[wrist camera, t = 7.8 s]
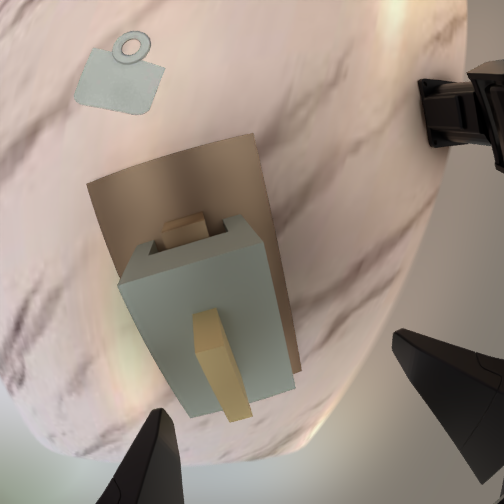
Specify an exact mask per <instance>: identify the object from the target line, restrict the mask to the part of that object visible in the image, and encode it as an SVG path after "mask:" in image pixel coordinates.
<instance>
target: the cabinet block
mask: <svg viewBox="0 0 504 504" xmlns="http://www.w3.org/2000/svg"><path fill="white" fill-rule="evenodd" d="M223 223H224V227H225V230H226V233H222V234H219V235H215V236H212V237H209V238H205V239H202V240H199V241H195V242H192V243H189V244H185V245H182V246H179V247H175V248H172V249H169V250H165V251H162V252H158V250H157V247H156V244H155V241H154V240H152V241H149V242H146V243H143V244H139V245H137V247H136V248H135V250H134V252H133V254H132V256H131V258H130V260H129V262H128V264H127V266H126V268H125V270H124V272H123V274H122V277H121V279H120V281H119V283H118V285H117V286H118V289H119V291H120V293H121V295H122V297H123V300H124V302H125V304H126V306H127V308H128V310H129V312H130V314H131V316H132V318H133V320H134V322H135V324H136V326H137V328H138V330H139V332H140V334H141V336H142V338H143V340H144V342H145V344H146V346H147V347H148V349H149V351H150V353H151V355H152V357H153V358H154V360H155V362H156V364H157V365H158V367H159V369H160V371H161V372H162V374H163V376H164V377H165V379H166V381H167V382H168V384H169V386H170V387H171V389H172V391H173V392H174V394H175V395H176V397H177V399H178V400H179V402H180V403H181V405H182V406H183V408H184V409H185V411H186V412H187V414H188V415H189V417H190V418H193V417H198V416H202V415H206V414H211V413H215V412H219V411H224V413H225V415H226V417H227V418H228V420H229V422H234V421H238V420H242V419H245V418H249V417H252V416H253V415H252V412H251V408H250V405H249V403H252V402H255V401H259V400H262V399H265V398H268V397H271V396H274V395H277V394H280V393H283V392H286V391H289V390H292V389H295V388H296V387H295V383H294V378H293V373H292V368H291V364H290V359H289V355H288V350H287V345H286V341H285V336H284V331H283V327H282V322H281V318H280V313H279V309H278V304H277V300H276V295H275V291H274V286H273V282H272V277H271V273H270V269H269V264H268V260H267V255H266V251H265V247H264V242H263V241H262V240H261V238H260V237H259V236H258V235H257V234H256V232H255V231H254V230H253V229H252V227H251V226H250V225H249V224H248V223H247V221H246V220H245V219H244V218H243V216H242V215H241V214H239V215H236V216H232V217H229V218H225V219H223Z"/></svg>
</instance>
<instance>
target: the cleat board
mask: <svg viewBox="0 0 504 504" xmlns="http://www.w3.org/2000/svg"><path fill="white" fill-rule="evenodd" d="M86 185H87V188H88V191H89V195H90V198H91V201H92V204H93V207H94V210H95V214H96V217H97V219H98V222H99V225H100V228H101V231H102V234H103V237H104V239H105V242H106V245H107V247H108V250H109V253H110V255H111V258H112V260H113V263H114V265H115V268H116V270H117V273H118V275H119V277H120V279H121V277H122V274H123V272H124V270H125V268H126V266H127V264H128V262H129V260H130V258H131V256H132V254H133V252H134V250H135V248H136V247H137V245H139V244H143V243H146V242H149V241H152V240H154V241H155V244H156V247H157V250H158V252H162V251H165V250H169V249H172V248H175V247H179V246H182V245H185V244H189V243H192V242H195V241H199V240H202V239H205V238H209V237H212V236H215V235H219V234H222V233H226V230H225V227H224V223H223V219H225V218H229V217H232V216H236V215H239V214H241V215H242V216H243V218H244V219H245V220H246V221H247V223H248V224H249V225H250V226H251V227H252V229H253V230H254V231H255V232H256V234H257V235H258V236H259V237H260V238H261V240H262V241H263V242H264V247H265V251H266V255H267V260H268V264H269V269H270V273H271V277H272V282H273V286H274V291H275V295H276V300H277V304H278V309H279V313H280V318H281V322H282V327H283V331H284V336H285V341H286V345H287V350H288V355H289V359H290V364H291V368H292V373H293V374H295V373H298V372H300V371H302V369H301V363H300V358H299V352H298V346H297V341H296V335H295V330H294V325H293V319H292V314H291V309H290V303H289V298H288V293H287V288H286V283H285V278H284V273H283V268H282V263H281V258H280V253H279V248H278V243H277V238H276V234H275V229H274V224H273V219H272V215H271V210H270V205H269V201H268V196H267V192H266V187H265V182H264V178H263V174H262V169H261V165H260V160H259V156H258V151H257V147H256V143H255V139H254V134H253V133H252V134H247V135H242V136H238V137H234V138H229V139H225V140H221V141H217V142H213V143H209V144H205V145H202V146H198V147H194V148H191V149H187V150H184V151H180V152H177V153H173V154H170V155H167V156H163V157H160V158H157V159H154V160H151V161H148V162H145V163H142V164H139V165H136V166H133V167H130V168H127V169H124V170H122V171H119V172H116V173H113V174H111V175H108V176H105V177H103V178H100V179H98V180H95V181H93V182H90V183H88V184H86Z"/></svg>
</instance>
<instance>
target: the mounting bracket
mask: <svg viewBox="0 0 504 504" xmlns="http://www.w3.org/2000/svg"><path fill="white" fill-rule="evenodd" d="M131 39H137V40H139V41H140V43H141V46H140V49H139V50H138V52H136V53H135V54H132V55H125V54H123V52H122V50H121V49H122V46H123V44H124V43H125V42H126V41H128V40H131ZM150 47H151V42H150V38H149V37H148V36H147V35H146V34H145V33H143V32H140V31H130V32H128V33H125V34H123V35H122V36H120V37H119V38H118V39H117V41H116V42H115V43H114V46H113V50H112V52H110V51H105V50H101V49H97V48H93V49H92V52H91V54H90V56H89V58H88V61H87V63H86V65H85V68H84V70H83V73H82V75H81V78H80V80H79V83H78V85H77V88H76V91H75V93H74V98H75V100H76V102H77V103H79V104H81V105H86V106H92V107H97V108H103V109H108V110H113V111H118V112H123V113H128V114H133V115H141V114H144V113H146V112H147V111H149V110H150V107H151V104H152V101H153V99H154V96H155V93H156V91H157V88H158V86H159V83H160V80H161V78H162V75H163V73H164V71H165V68H164V67H161V66H158V65H155V64H152V63H149V62H145V61H142V59H143V58H145V57H146V55H147V54H148V52H149V51H150Z"/></svg>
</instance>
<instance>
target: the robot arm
mask: <svg viewBox="0 0 504 504" xmlns="http://www.w3.org/2000/svg"><path fill="white" fill-rule="evenodd" d="M467 75H468V78H469V79H470V80H471V82H460V83H457V82H449V81H442V80H433V79H420V80H419V87H420V91H421V96H422V101H423V106H424V112H425V118H426V124H427V131H428V138H429V144H430V146H431V147H434V148H438V147H446V146H454V145H464V144H468V143H470V144H479V145H486V146H492V150H493V154H494V158H495V167H496V169H497V170H498V171H500V172H502V173H504V60H496V61H489V62H486V63H483V64H482V65H480V66H478V67H476V68H474V69H472V70H471V71H468V72H467ZM423 83H424V84H423ZM392 351H393V353H394V355H395V356H396V358H397V360H398V362H399V363H400V365H401V367H402V368H403V370H404V372H405V374H406V375H407V377H408V379H409V380H410V382H411V383H412V385H413V386H414V387H415V389H416V390H417V391H418V393H419V394H420V396H421V397H422V398H423V400H424V401H425V402H426V404H427V405H428V406H429V408H430V409H431V411H432V412H433V414H434V415H435V416H436V418H437V419H438V421H439V422H440V423H441V425H442V426H443V427H444V429H445V431H446V432H447V433H448V435H449V436H450V438H451V439H452V441H453V442H454V444H455V445H456V447H457V448H458V450H459V451H460V453H461V454H462V456H463V457H464V459H465V460H466V462H467V463H468V465H469V466H470V468H471V469H472V471H473V472H474V474H475V476H476V477H477V479H478V480H479V482H480V483H481V484H482V485H483V484H484V483H485V482H486V481H487V480H489V479H490V478H491V477H492V476H493V475H494V474H495V473H496V472H497V471H498V470H499V469H501V468H502V467H503V466H504V359H499V358H495V357H491V356H487V355H484V354H481V353H478V352H476V353H475V352H474V351H471V350H468V349H465V348H462V347H459V346H455V345H452V344H449V343H446V342H443V341H440V340H437V339H434V338H431V337H428V336H425V335H422V334H419V333H416V332H413V331H410V330H407V329H404V328H401V329H399V330H397V331H395V332H394V333H393V339H392ZM96 504H184V496H183V487H182V475H181V463H180V455H179V450H178V445H177V439H176V434H175V428H174V423H173V421H172V419H171V418H170V416H169V415H168V414H167V412H166V411H165V410H164V409H163V408H157V409H153V410H152V411H151V412H150V414H149V416H148V418H147V419H146V421H145V423H144V424H143V426H142V428H141V430H140V431H139V433H138V435H137V436H136V438H135V440H134V441H133V443H132V445H131V447H130V448H129V450H128V452H127V453H126V455H125V457H124V459H123V460H122V462H121V464H120V465H119V467H118V469H117V471H116V473H115V474H114V476H113V478H112V479H111V481H110V483H109V484H108V486H107V487H106V489H105V491H104V492H103V494H102V495H101V497H100V498H99V500H98V501H97V502H96ZM494 504H504V480H503V485H502V490H501V495H500V498H499V499H498V500H497V501H496V502H495V503H494Z"/></svg>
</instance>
